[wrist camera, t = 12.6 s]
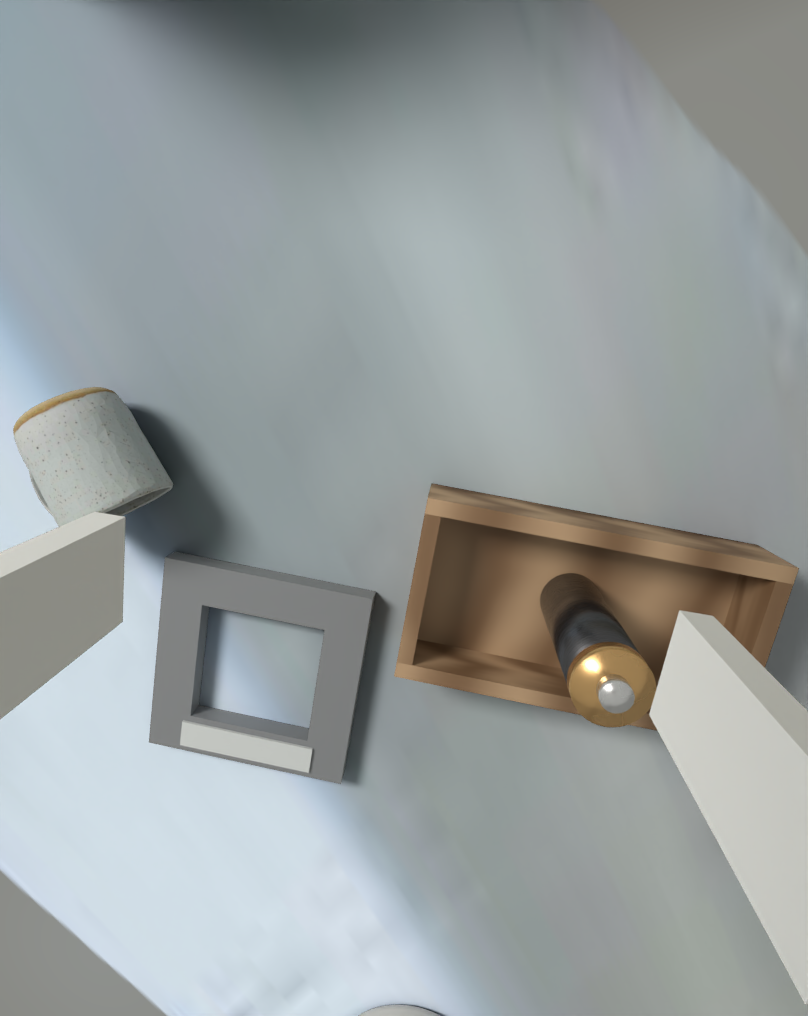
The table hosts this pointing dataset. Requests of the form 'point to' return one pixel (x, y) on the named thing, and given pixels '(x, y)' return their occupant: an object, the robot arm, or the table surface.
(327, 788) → the table surface
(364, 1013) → the cylinder vase
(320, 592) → the grey flat square frame
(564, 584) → the battery cell
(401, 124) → the table surface
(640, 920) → the table surface
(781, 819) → the robot arm
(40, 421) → the ceramic mug
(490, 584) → the walnut trough
